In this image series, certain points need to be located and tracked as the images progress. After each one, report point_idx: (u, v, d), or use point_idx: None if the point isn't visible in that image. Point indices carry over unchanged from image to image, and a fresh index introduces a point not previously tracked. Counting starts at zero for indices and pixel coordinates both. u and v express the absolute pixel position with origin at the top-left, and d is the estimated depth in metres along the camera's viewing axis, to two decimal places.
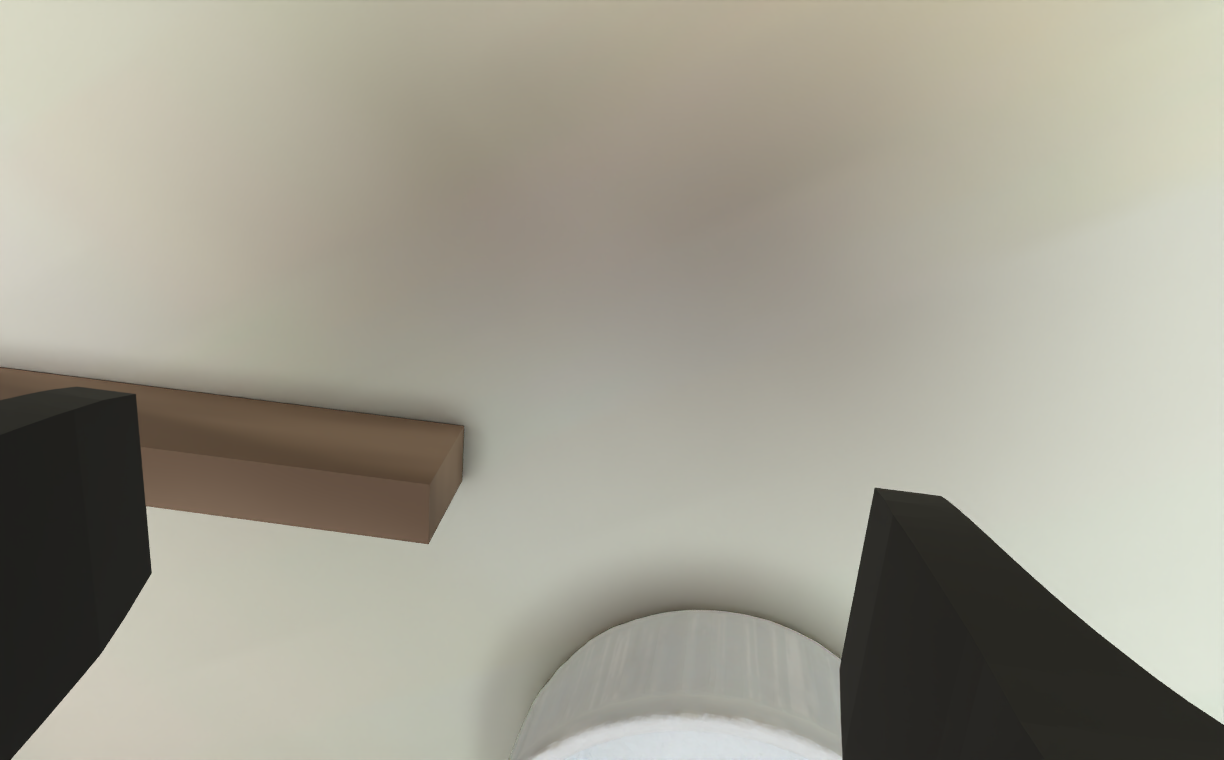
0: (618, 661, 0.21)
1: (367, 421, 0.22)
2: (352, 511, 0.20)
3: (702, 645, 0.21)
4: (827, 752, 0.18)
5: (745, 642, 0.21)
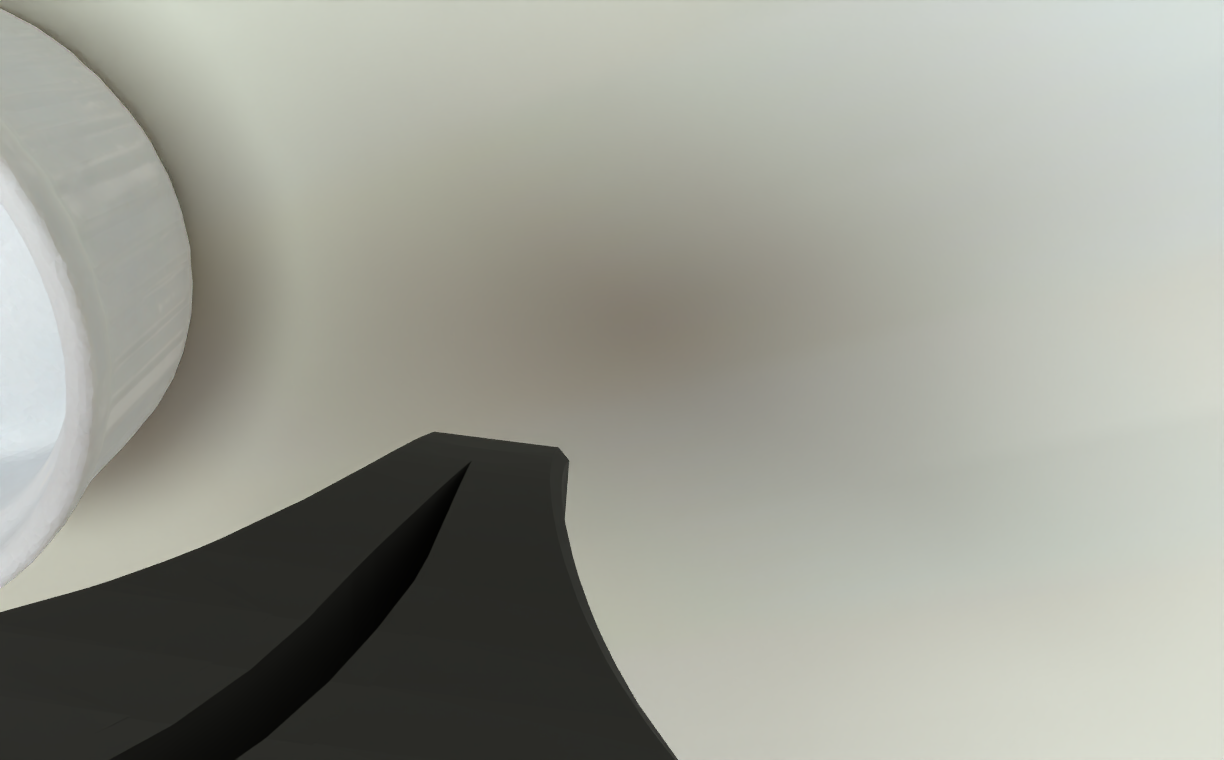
0: None
1: None
2: None
3: None
4: None
5: None
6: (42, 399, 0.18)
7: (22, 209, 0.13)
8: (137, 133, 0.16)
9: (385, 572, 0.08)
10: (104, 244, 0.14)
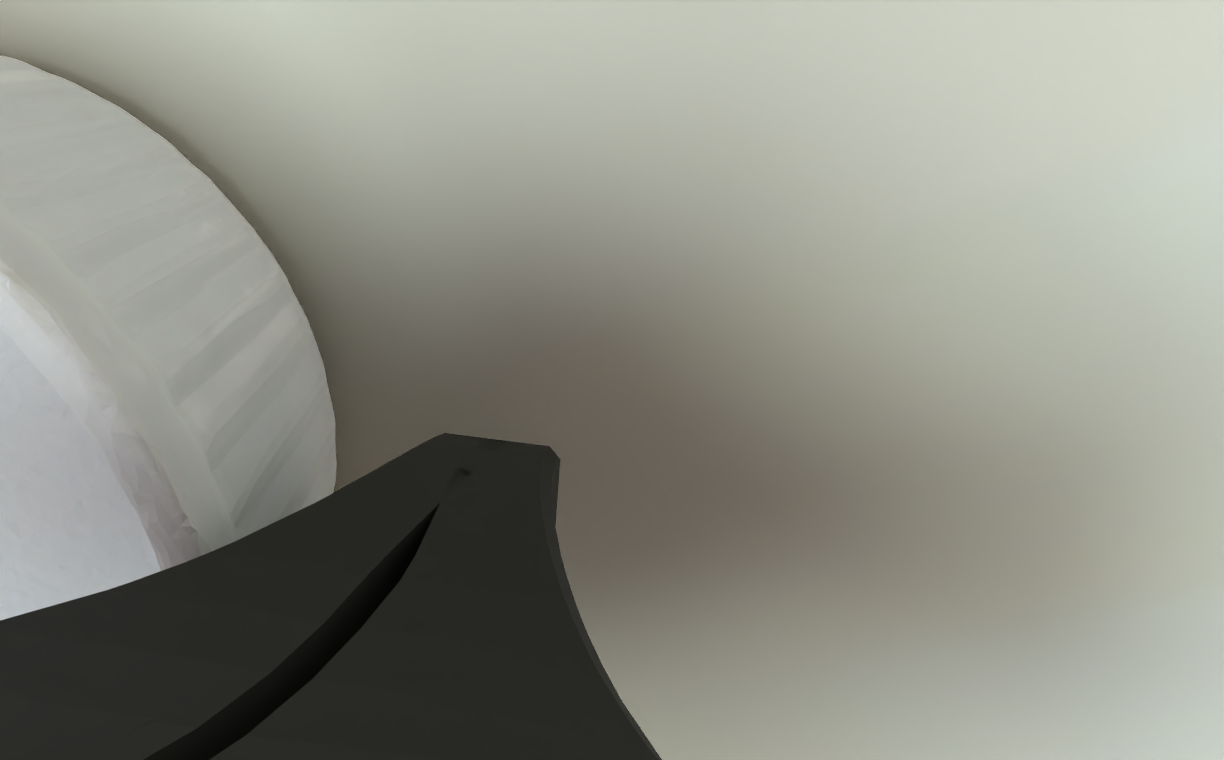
0: None
1: None
2: None
3: None
4: None
5: None
6: None
7: (127, 449, 0.08)
8: (267, 262, 0.11)
9: (400, 574, 0.08)
10: (240, 463, 0.09)
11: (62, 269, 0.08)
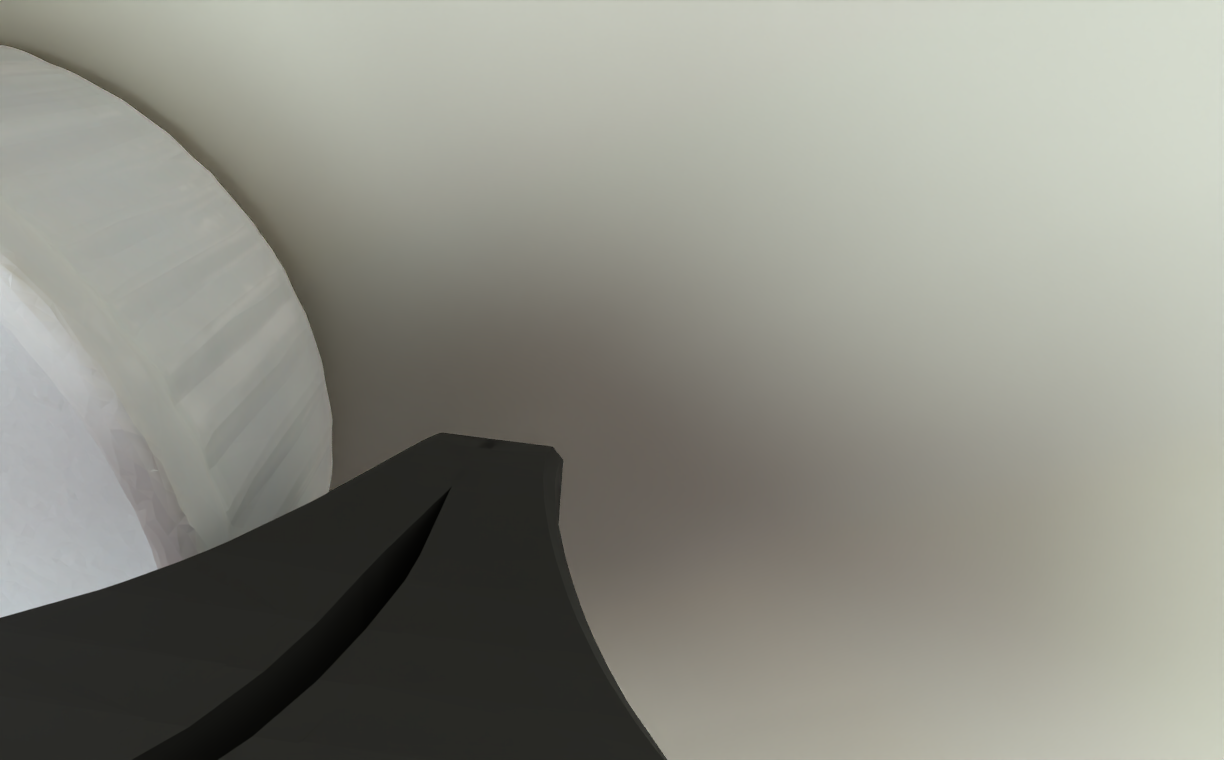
0: None
1: None
2: None
3: None
4: None
5: None
6: None
7: (126, 446, 0.08)
8: (268, 259, 0.11)
9: (395, 573, 0.08)
10: (238, 461, 0.09)
11: (65, 264, 0.08)
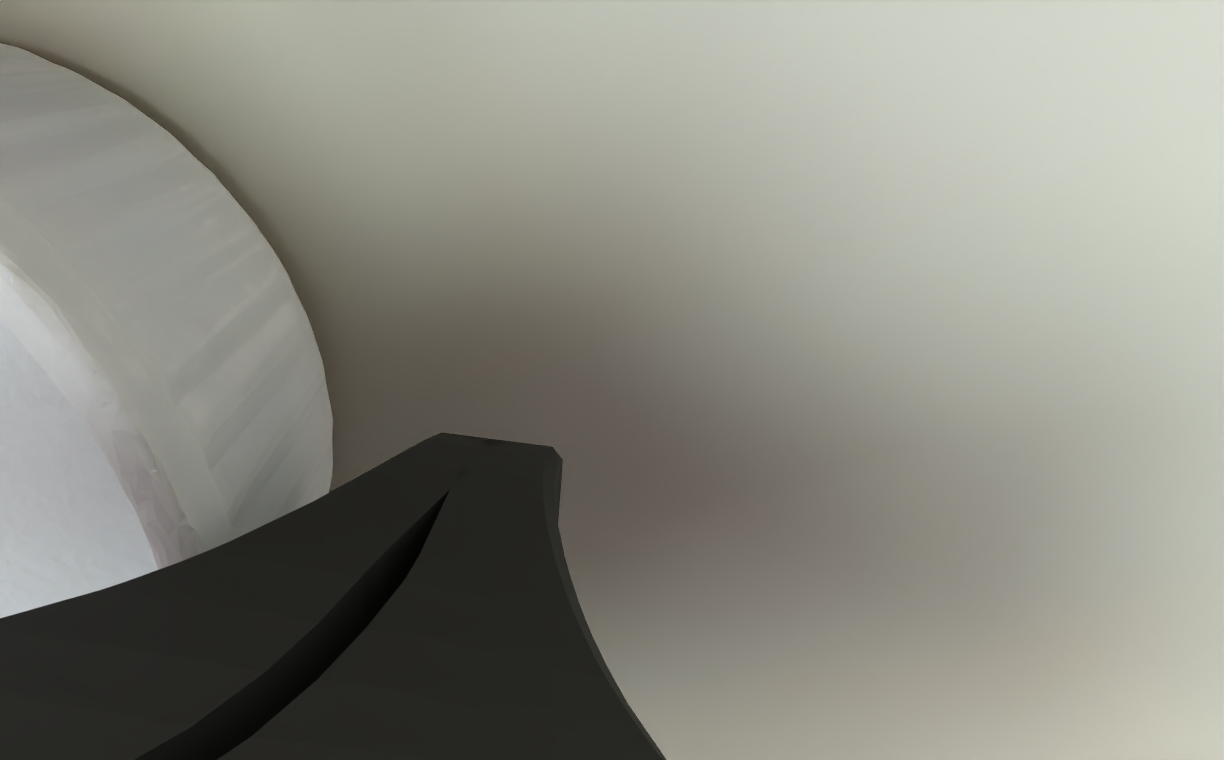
0: None
1: None
2: None
3: None
4: None
5: None
6: None
7: (127, 446, 0.08)
8: (268, 259, 0.11)
9: (396, 574, 0.08)
10: (238, 461, 0.09)
11: (65, 264, 0.08)
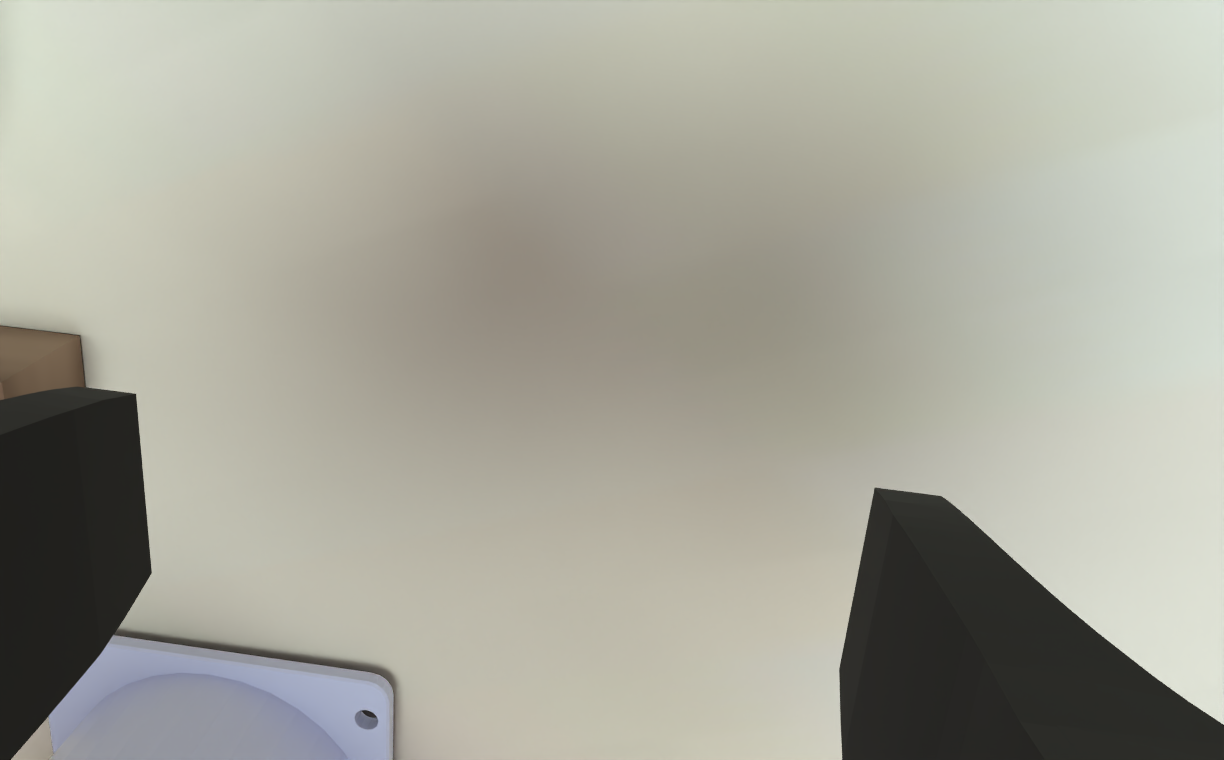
0: None
1: None
2: None
3: None
4: None
5: None
6: None
7: None
8: None
9: None
10: None
11: None
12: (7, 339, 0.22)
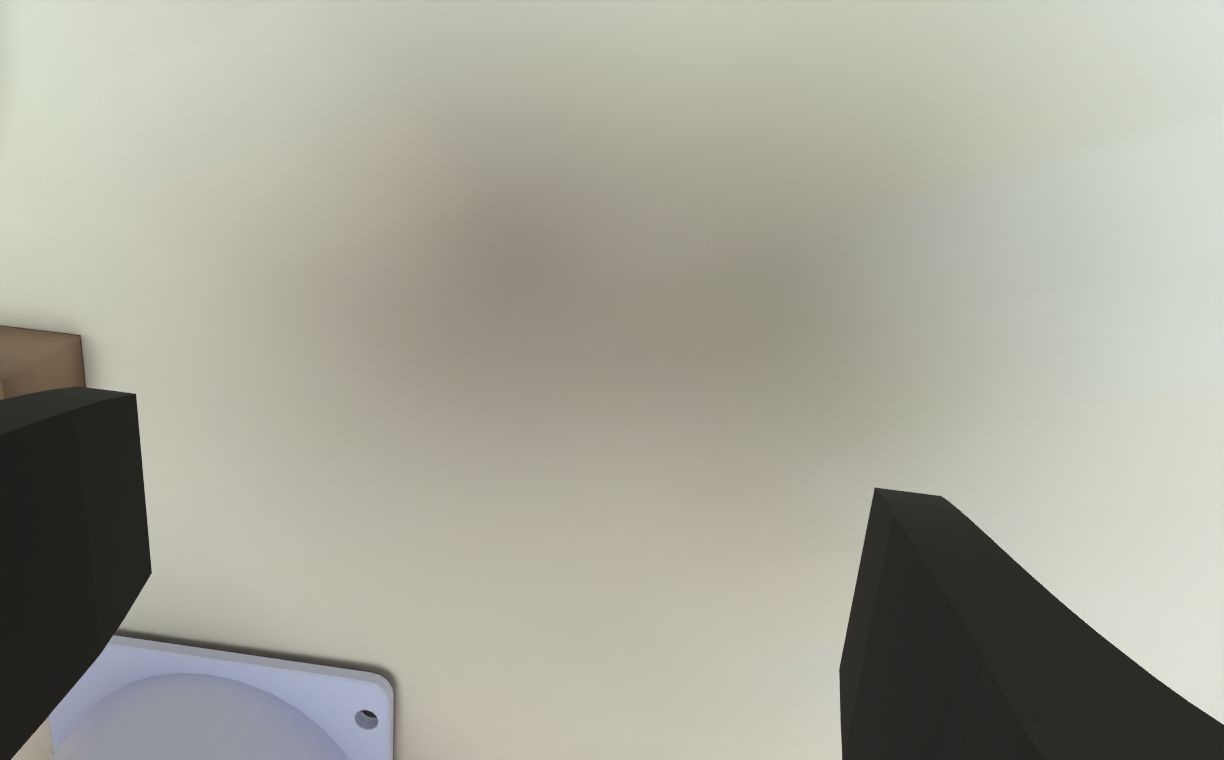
0: None
1: None
2: None
3: None
4: None
5: None
6: None
7: None
8: None
9: None
10: None
11: None
12: (7, 339, 0.22)
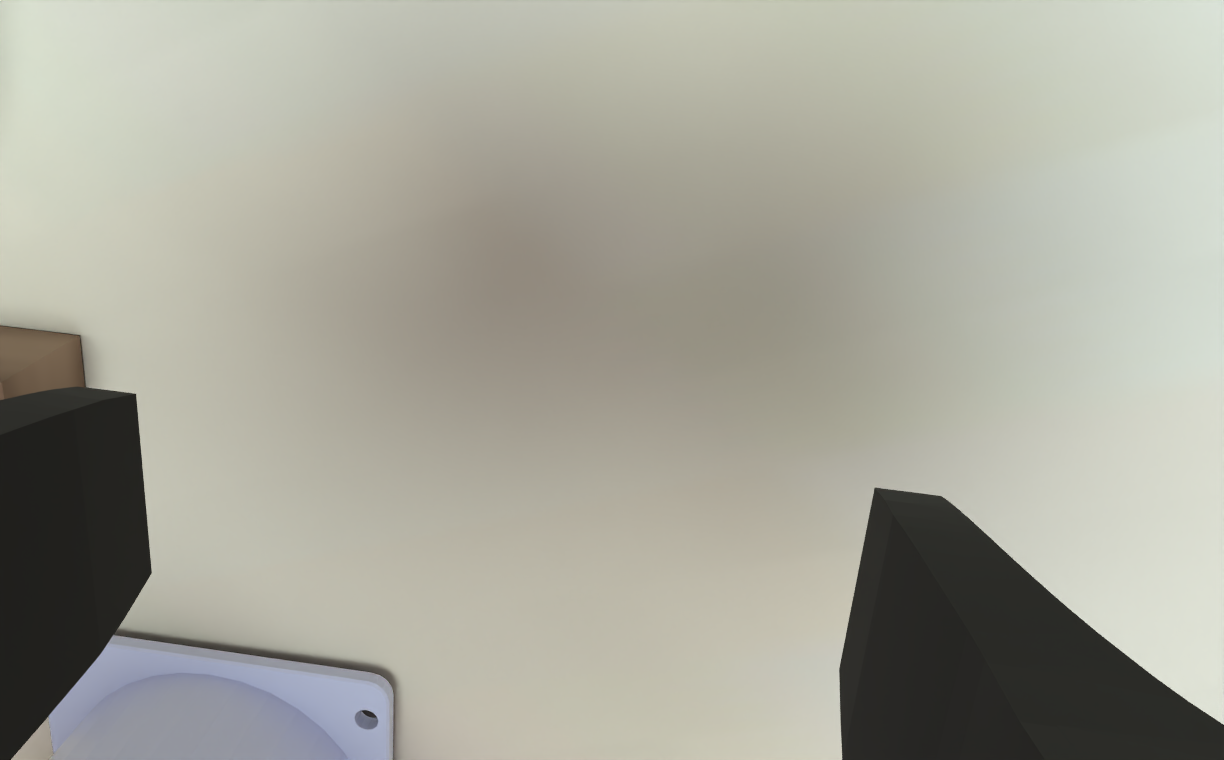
0: None
1: None
2: None
3: None
4: None
5: None
6: None
7: None
8: None
9: None
10: None
11: None
12: (7, 339, 0.22)
